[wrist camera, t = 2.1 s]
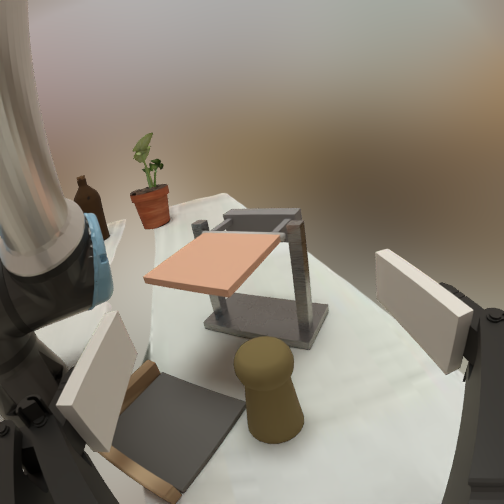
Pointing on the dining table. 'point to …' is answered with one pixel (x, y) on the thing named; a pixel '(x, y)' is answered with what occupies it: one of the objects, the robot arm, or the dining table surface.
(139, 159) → the potted plant
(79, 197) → the olive oil
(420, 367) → the dining table surface
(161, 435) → the mat
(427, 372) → the dining table surface
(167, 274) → the drop flap
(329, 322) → the dining table surface
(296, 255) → the flap stand
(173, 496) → the wooden picture frame
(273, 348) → the cork
